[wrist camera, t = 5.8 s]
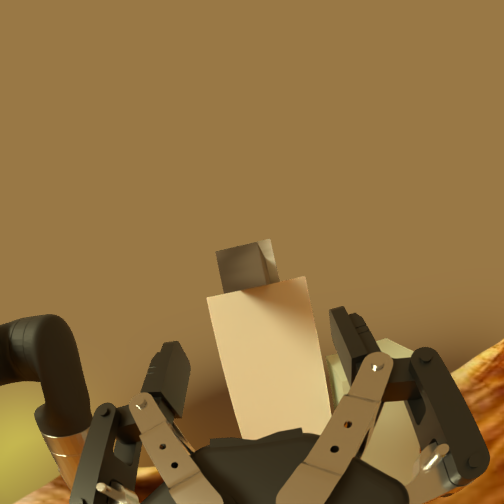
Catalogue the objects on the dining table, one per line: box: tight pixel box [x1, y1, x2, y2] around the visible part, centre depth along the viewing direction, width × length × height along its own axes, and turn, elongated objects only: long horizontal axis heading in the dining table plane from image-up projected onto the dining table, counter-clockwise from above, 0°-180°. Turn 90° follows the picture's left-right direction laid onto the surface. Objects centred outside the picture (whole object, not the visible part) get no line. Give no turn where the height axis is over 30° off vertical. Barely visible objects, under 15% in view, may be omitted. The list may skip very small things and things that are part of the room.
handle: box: [216, 239, 280, 293], centre depth 27 cm, size 5×17×5 cm, turn 175°
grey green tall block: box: [326, 338, 420, 486], centre depth 24 cm, size 8×9×22 cm
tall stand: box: [207, 276, 331, 440], centre depth 29 cm, size 10×9×32 cm
